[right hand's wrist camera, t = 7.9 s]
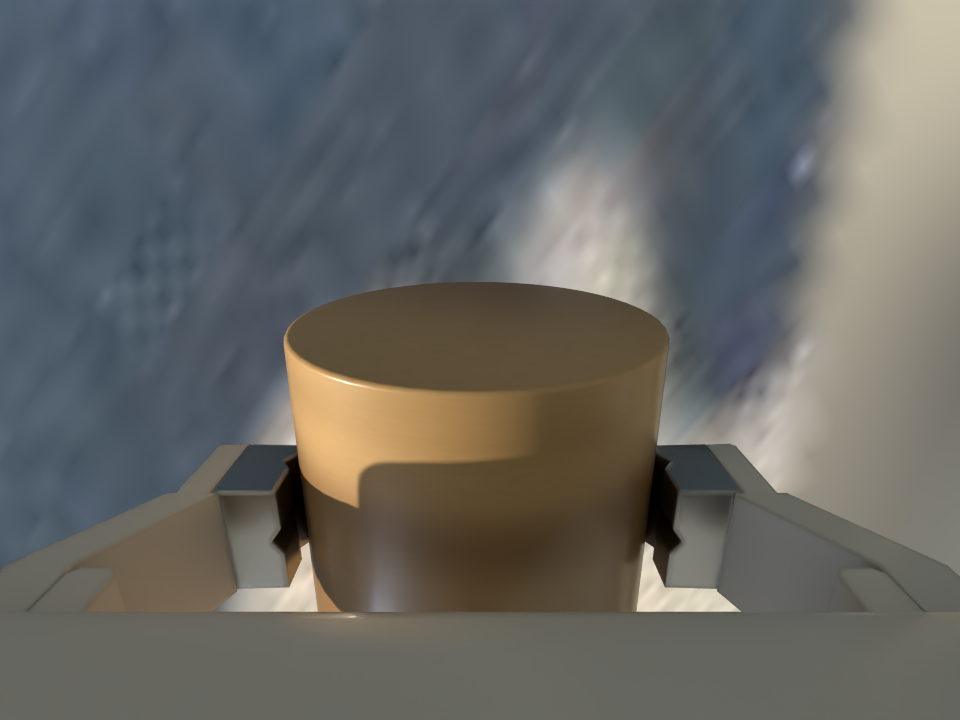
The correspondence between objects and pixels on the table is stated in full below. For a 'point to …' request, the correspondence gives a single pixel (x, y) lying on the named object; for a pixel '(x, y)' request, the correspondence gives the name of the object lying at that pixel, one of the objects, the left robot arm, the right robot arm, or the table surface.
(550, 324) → the rod
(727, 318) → the table surface
